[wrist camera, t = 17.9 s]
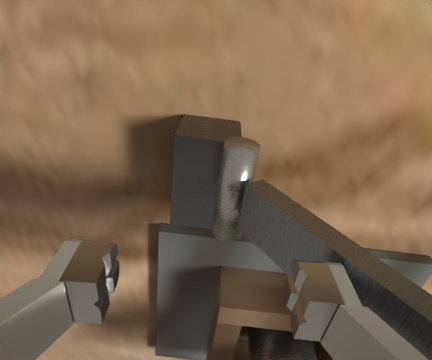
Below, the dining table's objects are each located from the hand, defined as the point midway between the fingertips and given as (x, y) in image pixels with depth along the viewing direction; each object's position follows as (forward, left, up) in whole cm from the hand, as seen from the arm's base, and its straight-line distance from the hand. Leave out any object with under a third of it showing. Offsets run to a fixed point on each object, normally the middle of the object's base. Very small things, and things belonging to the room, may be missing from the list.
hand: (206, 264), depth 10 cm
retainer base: (0, 0, -8) cm, 8 cm away
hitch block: (-6, +12, -8) cm, 16 cm away
